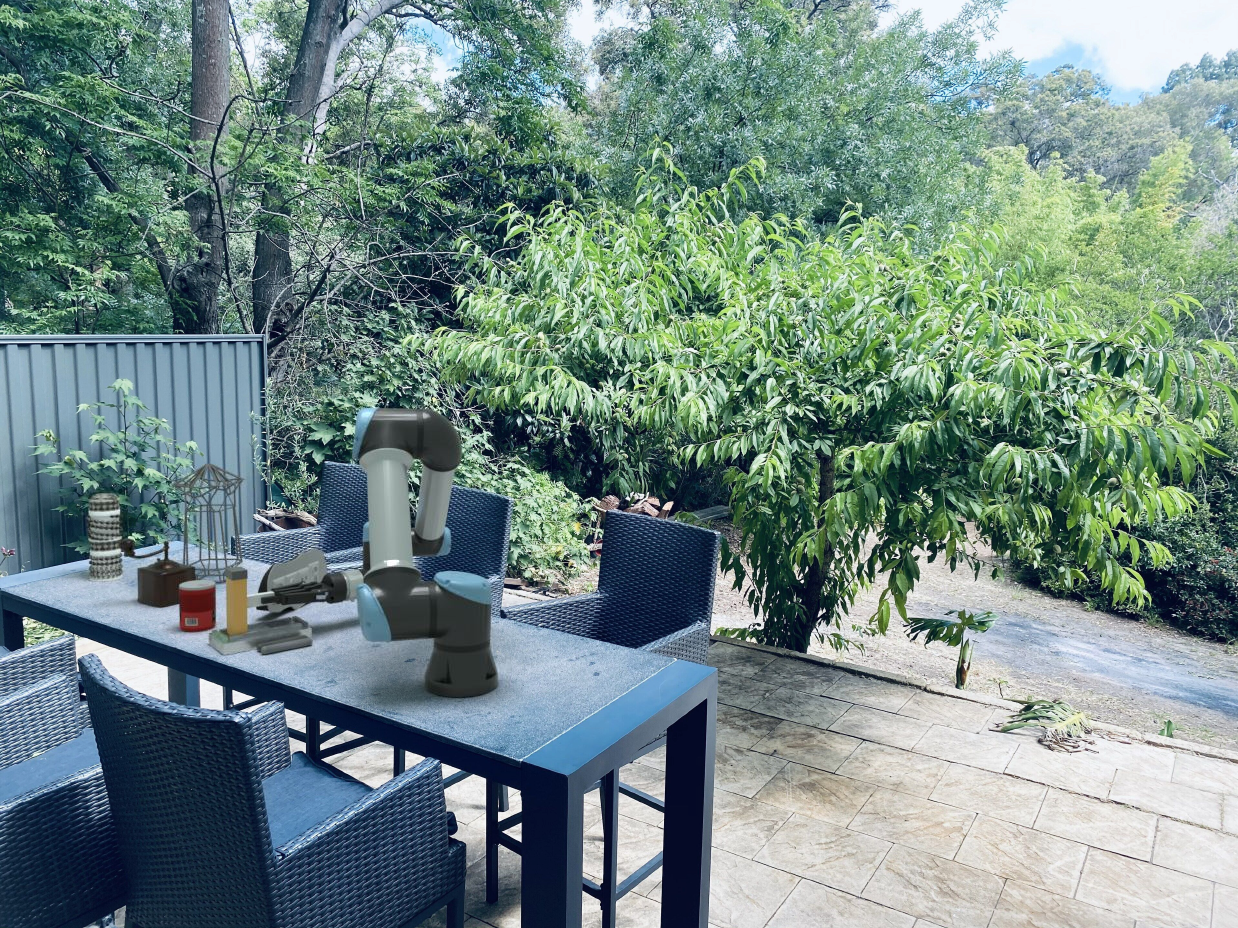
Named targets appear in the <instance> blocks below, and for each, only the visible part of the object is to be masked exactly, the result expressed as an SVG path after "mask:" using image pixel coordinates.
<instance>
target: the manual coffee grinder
mask: <svg viewBox="0 0 1238 928" xmlns="http://www.w3.org/2000/svg"><path fill="white" fill-rule="evenodd" d="M169 543H170V542H169V541H168V540H164V541H163V546H162V547H163V548H161V549H159V550H156V551H153V552H150V553H146V554H142V555H136V551H135V550H134V547H135V545H136V541H135V540H134V539H133V538H122V539H120V542H119V543H118V547H119V548H120V549H121V552H123V557H125V558H131V559H135V560H138V559H139V560H141V559H145V558H150V557H153V556H156V555H159V554H161V553H164V558H163V559H161V558H159V557H157V558H156V561H155V562H154V563H151V564H149V565H147V566H143V567H137V569H136V573H137V599H136V602H138V603H140V604H142V605H147V606H149V607H153V608H159V609H163V608H169V607H173V606H177V605H179V585H180V584H182V583H184V582H188V581H195V580H196V578H195V574H196V570H195V568H196V567H195V566H194V565H192V566H189V564H188V565H186V563H185V564H183V563H180V562H177V561H175V560H173V559H170V558H169V549H170V545H169Z"/></svg>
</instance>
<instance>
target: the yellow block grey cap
mask: <svg viewBox="0 0 1238 928" xmlns="http://www.w3.org/2000/svg"><path fill="white" fill-rule="evenodd" d="M224 568H225V567H224ZM224 571H225V575H226V576H225V580H226V581H225V585H226V586H225V587H226V588H225V592H226V594H225V595H226V599H225V600H226V602H225V605H226V607H225V609H226V628H227V633H228V634H229V635H235V634H241V633H246V632H247V624H248V608H247V595H248V576H249V575H248V573H249V571H248V569H247V568H244V566H243V567H242V566H237V567H235V566H233V567H232V568H231V567H230V568H225V570H224Z"/></svg>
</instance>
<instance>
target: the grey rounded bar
mask: <svg viewBox="0 0 1238 928" xmlns="http://www.w3.org/2000/svg"><path fill="white" fill-rule="evenodd" d="M313 642H314V641H313V638H308V636H306V635H302V636H297V637H291V638H286V639H281V640H276V641H271V642H265V643H260V644H258V645H257V649H256V650H257V651H258V652H261V654H262V655H268V654H273V653H278V652H283V651H288V650H292V649H298V648H303V647H308V646H312V644H313Z"/></svg>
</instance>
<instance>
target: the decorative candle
mask: <svg viewBox="0 0 1238 928" xmlns="http://www.w3.org/2000/svg"><path fill="white" fill-rule="evenodd" d="M120 500H121V498H119V497H118V496H117V495H116V494H115V493H113V492H111V493H110V492H108V493H107V492H103V493H95V494H92V496H91V497H90V499H87V501H88V504H89V505H88V506H89V509H88V515H87V516H86V517H85V519H86V520H87V522H86V526H87V527H88V528H87V530H86V531H87V532H88V533H87V534H86V535H87V538H88V541H89V542H90V543H89V544H90V549H89V556H88V559H89V561H88V564H89V565H90V566H89V567H88V571H90V572H88V576H89V581H91V582H96V583H97V582H100V583H101V582H104V583H105V582H112V581H117V580H121V579H123V577H124V575H123V572H124V571H123V568H124V565H123V564H122V562H123V561H124V560H123V558H122V557H124V554H123V553H122V550H121V549H120V548H119V547H118V543H119V542H120V541H121V540H123V537H122V536H123V533H122V532H120V531H121V530H122V529H123V526H121V525H122V524H123V523H124V522H123V521H122V520H120V519H121V518H123V517H124V515H123V514H122V513H121V508H120Z"/></svg>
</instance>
